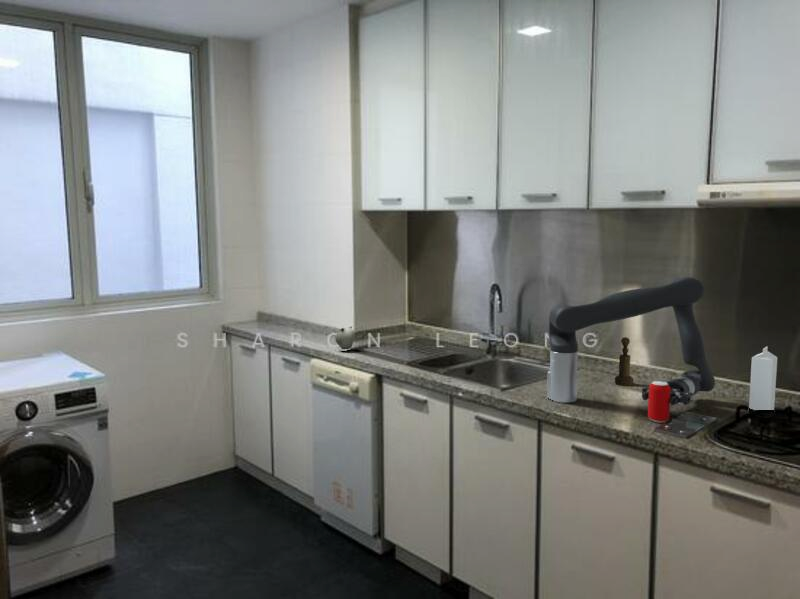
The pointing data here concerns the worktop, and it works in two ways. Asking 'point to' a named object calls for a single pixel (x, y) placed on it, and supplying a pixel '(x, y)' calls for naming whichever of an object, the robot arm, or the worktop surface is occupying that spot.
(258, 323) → the worktop surface
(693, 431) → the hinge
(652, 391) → the beverage can
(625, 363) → the brown wooden figurine
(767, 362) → the milk
